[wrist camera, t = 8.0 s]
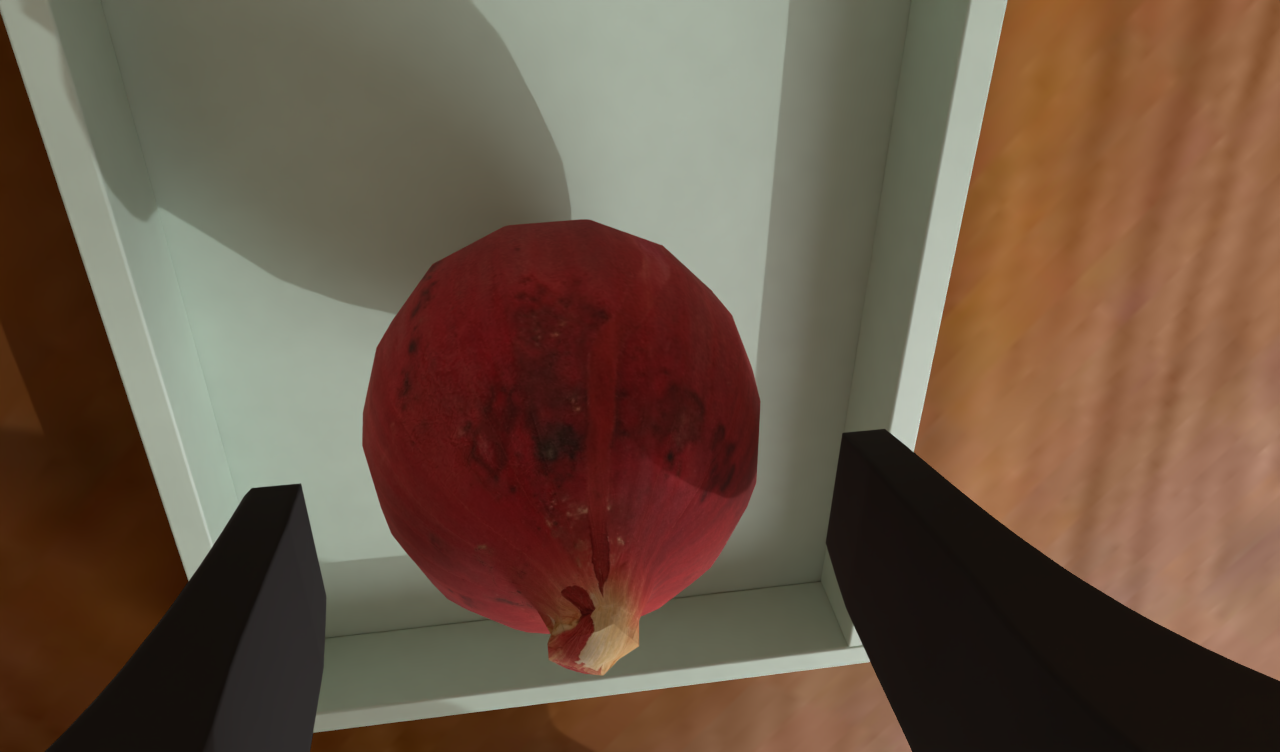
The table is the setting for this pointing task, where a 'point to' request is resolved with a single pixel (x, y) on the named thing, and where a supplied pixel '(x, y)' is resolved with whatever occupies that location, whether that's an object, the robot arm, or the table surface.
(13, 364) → the table surface
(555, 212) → the tray
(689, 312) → the onion
